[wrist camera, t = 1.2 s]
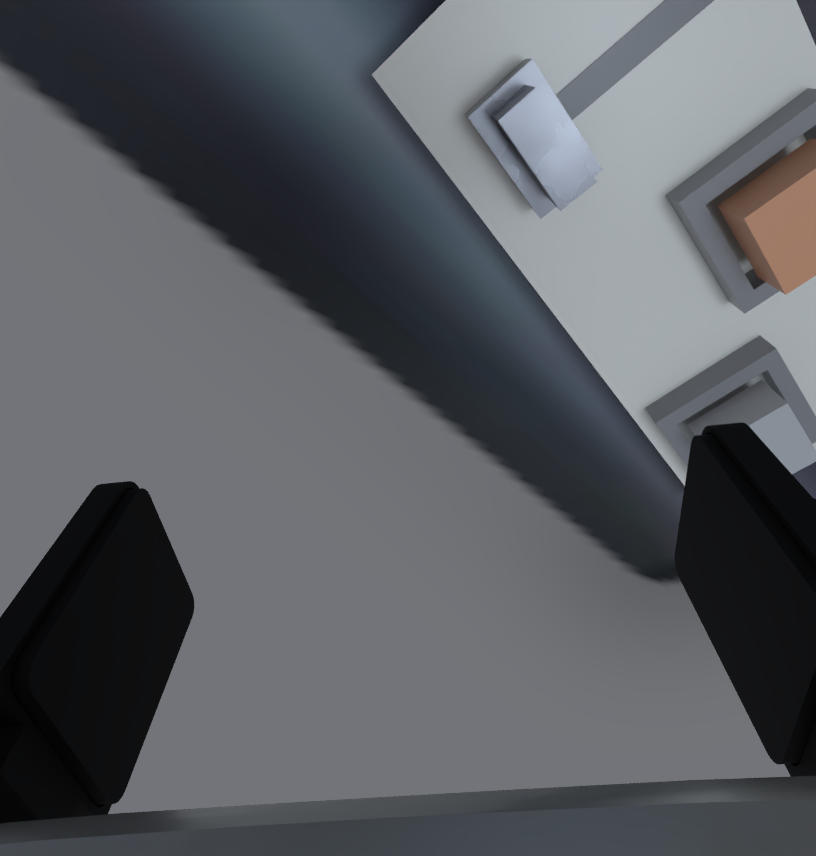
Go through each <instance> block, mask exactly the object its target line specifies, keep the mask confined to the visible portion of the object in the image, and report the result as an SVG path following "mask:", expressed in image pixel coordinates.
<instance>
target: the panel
mask: <svg viewBox="0 0 816 856" xmlns="http://www.w3.org/2000/svg"><path fill="white" fill-rule="evenodd" d="M525 59H533V60H534V62H535V63H536V65H537V66H538V68H539V70H540V71H541V73H542V74H543V76H544V77H545V79H546V81H547V82H548V84H549V85H550V87H551V88H552V90H553V92H554V93H555V95H556V96H557V98H558V99H559V101H560V103H561V104H562V106H563V107H564V109H565V110H566V112H567V114H568V115H569V117H570V118H571V120H572V121H573V123H574V125H575V126H576V128H577V129H578V131H579V132H580V134H581V136H582V137H583V139H584V140H585V142H586V143H587V145H588V147H589V148H590V150H591V151H592V153H593V154H594V156H595V158H596V159H597V161H598V162H599V164H600V165H601V167H602V169H603V170H602V171H601V172H599V173H598V174H597V175H596V176H594V178H595V179H596V181H597V182H596V183H595V184H594V185H593V186H591V187H590V188H589V189H588V190H586V191H585V192H584V193H582V194H581V195H580V196H579V197H577V198H576V199H575V200H574V201H572V202H571V203H570V204H569V205H567V206H566V207H565V208H564V209H562V210H561V211H560V210H559V209H558V208H557V207H555V208H554V209H553V210H552V211H550V212H549V213H548V214H547V215H545V216H544V217H543V218H542V219H540V218H539V216H538V215H537V214H536V213H535V212H534V210H533V209H532V207H531V206H530V205H529V203H528V202H527V200H526V199H525V198H524V196H523V195H522V193H521V192H520V191H519V189H518V188H517V186H516V185H515V184H514V182H513V181H512V179H511V178H510V177H509V175H508V174H507V172H506V171H505V170H504V168H503V167H502V165H501V164H500V163H499V161H498V160H497V158H496V157H495V156H494V154H493V153H492V151H491V150H490V149H489V147H488V146H487V144H486V143H485V142H484V140H483V139H482V137H481V136H480V135H479V133H478V132H477V130H476V129H475V128H474V126H473V125H472V123H471V122H470V120H469V119H468V118H467V116H466V115H465V113H466V112H467V111H469V110H470V109H471V108H472V107H473V106H474V105H475V104H476V103H477V102H478V101H480V100H481V99H482V98H483V97H484V96H485V95H486V94H487V93H488V92H489V91H491V90H492V89H493V88H494V87H495V86H496V85H497V84H498V83H499V82H500V81H501V80H503V79H504V78H505V77H506V76H507V75H508V74H509V73H510V72H511V71H512V70H514V69H515V68H516V67H517V66H518V65H519V64H520V63H521V62H522V61H523V60H525ZM372 76H373V77H374V79H375V80H376V81H377V83H378V84H379V85H380V87H381V88H382V89H383V91H384V92H385V93H386V94H387V96H388V97H389V98H390V100H391V101H392V102H393V104H394V105H395V106H396V108H397V109H398V110H399V112H400V113H401V114H402V115H403V117H404V118H405V119H406V121H407V122H408V123H409V125H410V126H411V127H412V129H413V130H414V131H415V133H416V134H417V135H418V136H419V138H420V139H421V140H422V142H423V143H424V144H425V146H426V147H427V148H428V150H429V151H430V152H431V154H432V155H433V156H434V157H435V159H436V160H437V161H438V163H439V164H440V165H441V167H442V168H443V169H444V171H445V172H446V173H447V175H448V176H449V177H450V179H451V180H452V181H453V182H454V184H455V185H456V186H457V188H458V189H459V190H460V192H461V193H462V194H463V196H464V197H465V198H466V200H467V201H468V202H469V203H470V205H471V206H472V207H473V209H474V210H475V211H476V213H477V214H478V215H479V217H480V218H481V219H482V221H483V222H484V223H485V224H486V226H487V227H488V228H489V230H490V231H491V232H492V234H493V235H494V236H495V238H496V239H497V240H498V242H499V243H500V244H501V245H502V247H503V248H504V249H505V251H506V252H507V253H508V255H509V256H510V257H511V259H512V260H513V261H514V263H515V264H516V265H517V267H518V268H519V269H520V270H521V272H522V273H523V274H524V276H525V277H526V278H527V280H528V281H529V282H530V284H531V285H532V286H533V288H534V289H535V290H536V291H537V293H538V294H539V295H540V297H541V298H542V299H543V301H544V302H545V303H546V305H547V306H548V307H549V309H550V310H551V311H552V312H553V314H554V315H555V316H556V318H557V319H558V320H559V322H560V323H561V324H562V326H563V327H564V328H565V330H566V331H567V332H568V333H569V335H570V336H571V337H572V339H573V340H574V341H575V343H576V344H577V345H578V347H579V348H580V349H581V351H582V352H583V353H584V355H585V356H586V357H587V358H588V360H589V361H590V362H591V364H592V365H593V366H594V368H595V369H596V370H597V372H598V373H599V374H600V376H601V377H602V378H603V379H604V381H605V382H606V383H607V385H608V386H609V387H610V389H611V390H612V391H613V393H614V394H615V395H616V397H617V398H618V399H619V400H620V402H621V403H622V404H623V406H624V407H625V408H626V410H627V411H628V412H629V414H630V415H631V416H632V418H633V419H634V420H635V422H636V423H637V424H638V425H639V427H640V428H641V429H642V431H643V432H644V433H645V435H646V436H647V437H648V439H649V440H650V441H651V443H652V444H653V445H654V446H655V448H656V449H657V450H658V452H659V453H660V454H661V456H662V457H663V458H664V460H665V461H666V462H667V464H668V465H669V466H670V467H671V469H672V470H673V471H674V473H675V474H676V475H677V477H678V478H679V479H680V481H681V482H682V483H683V485H684V486H685V481H686V474H687V467H688V460H689V453H690V447H691V441H692V439H693V437H694V436H695V435H694V434H693V432H692V431H691V430H690V428H689V427H688V425H687V424H689V423H690V422H692V421H694V420H695V419H697V418H699V417H700V416H702V415H704V414H705V413H707V412H709V411H710V410H712V409H714V408H715V407H717V406H719V405H720V404H722V403H724V402H725V401H727V400H729V399H730V398H732V397H733V396H735V395H737V394H738V393H740V392H742V391H743V390H745V389H747V388H748V387H750V386H752V385H753V384H755V383H757V382H758V381H760V380H763V381H764V382H765V383H766V384H767V385H768V386H769V387H771V388H772V389H773V390H774V391H775V392H776V393H777V394H778V395H779V396H780V397H781V398H782V399H784V400H785V401H786V402H787V403H788V405H789V406H790V408H791V410H792V411H793V413H794V415H795V416H796V418H797V420H798V421H799V423H800V425H801V426H802V428H803V430H804V431H805V433H806V435H807V436H808V438H809V440H810V441H811V443H812V445H813V446H814V448H815V450H816V276H814V277H813V278H811V279H810V280H808V281H806V282H805V283H803V284H802V285H800V286H799V287H797V288H796V289H794V290H793V291H791V292H789V293H788V294H786V295H785V294H784V293H782V292H780V291H779V290H777V289H776V288H774V287H773V286H771V285H769V284H768V283H766V282H765V281H763V280H762V279H760V278H758V277H757V275H756V273H755V271H754V270H753V268H752V266H751V264H750V263H749V261H748V259H747V257H746V255H745V254H744V252H743V250H742V248H741V247H740V245H739V243H738V241H737V239H736V238H735V236H734V234H733V232H732V231H731V229H730V227H729V225H728V223H727V222H726V220H725V218H724V216H723V215H722V213H721V211H720V209H719V207H718V205H719V204H721V203H722V202H723V201H725V200H726V199H728V198H729V197H730V196H732V195H733V194H734V193H736V192H737V191H739V190H740V189H741V188H743V187H744V186H746V185H747V184H748V183H750V182H751V181H752V180H754V179H755V178H757V177H758V176H759V175H761V174H762V173H764V172H765V171H766V170H768V169H769V168H770V167H772V166H773V165H775V164H776V163H777V162H779V161H780V160H782V159H783V158H784V157H786V156H787V155H788V154H790V153H791V152H793V151H794V150H795V149H797V148H798V147H800V146H801V145H802V144H804V143H805V142H806V141H808V140H809V139H811V138H812V139H816V45H815V43H814V41H813V38H812V36H811V34H810V31H809V29H808V27H807V24H806V22H805V20H804V17H803V15H802V13H801V10H800V8H799V6H798V3H797V1H796V0H446V1H445V2H444V3H443V4H442V5H441V6H440V7H439V8H438V9H437V10H436V11H435V12H434V13H433V14H432V15H431V16H430V17H429V18H428V19H427V20H426V21H425V22H424V23H423V24H422V25H421V26H420V27H419V28H418V29H417V30H416V31H415V32H414V33H413V34H412V35H411V36H410V37H409V38H408V39H407V40H406V41H405V42H404V43H403V44H402V45H401V46H400V47H399V48H398V49H397V50H396V51H395V52H394V53H393V54H392V55H391V56H390V57H389V58H388V59H387V60H386V61H385V62H384V63H383V64H382V65H381V66H380V67H379V68H378V69H377V70H376V71H375V72H374V73H373V74H372Z"/></svg>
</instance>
